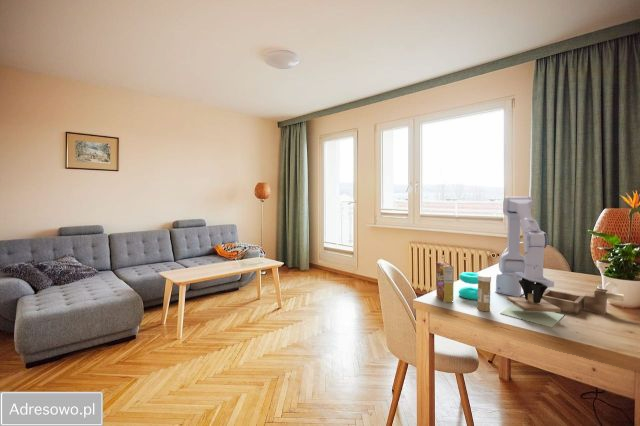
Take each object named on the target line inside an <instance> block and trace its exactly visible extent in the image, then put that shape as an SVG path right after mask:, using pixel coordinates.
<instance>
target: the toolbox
mask: <svg viewBox="0 0 640 426" xmlns="http://www.w3.org/2000/svg"><path fill="white" fill-rule="evenodd" d="M584 297H585V295H579V294H576V293H575V294H574V293H569V292H568V293H567V292H563V291H559V290H552V289H546V291H545V292H544V294H543V296H542V298H541V299H543V300H545V301H547V302H549V303H551V304H553V305H555V306H557V307H558V308H560V309H561V312H560V313H566V314H570V315H574V316H578V315H579V314H580V313H581V312H582V311H583V310H584Z"/></svg>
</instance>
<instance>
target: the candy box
mask: <svg viewBox="0 0 640 426" xmlns="http://www.w3.org/2000/svg"><path fill="white" fill-rule="evenodd" d="M454 273H455V272H454V266H453V265H451V264H449V263H447V262H446V261H436V296H437V298H439V299H440V300H441V299H442V300H443V301H444V302H452V301H453V302H454V278H455V277H454V275H455V274H454ZM442 300H441V301H442ZM443 301H442V302H443ZM444 302H443V303H444ZM453 302H452V303H453Z"/></svg>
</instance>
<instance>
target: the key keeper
mask: <svg viewBox="0 0 640 426" xmlns="http://www.w3.org/2000/svg"><path fill="white" fill-rule="evenodd" d="M594 290H595V296H594V294H591V293H586V294H584V296H585V297H584V308H583V311H586V312H587V311H588V312H591V313H592V312H593V313H596V314H601V315H606V313H607V309H608V308H607V304H608V298H606V292H608V289H603V288H598V287H597V288H596V289H594ZM605 291H606V292H605Z"/></svg>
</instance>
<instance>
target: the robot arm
mask: <svg viewBox="0 0 640 426" xmlns="http://www.w3.org/2000/svg"><path fill="white" fill-rule="evenodd" d="M502 201H503V203H502V212H503V215H506V217H507V233H506V234H507V238H506V240H507V241H506V243H507V244H506V246H507V247H506V252H504V253H502V254H501V255H500V256H499V261H498V269H499V272H497V274H496V279H495V291H494V293H498V294H503V295H507V296H510V297H522V296H523V295H524V296H523V297H525V299H526V300H528V293H533V301H534V303H540V301H541V298H542V296H543V294H544V292H545V291H546V290H548V288H555V281H553V280H550V279H548V278H546V277H545V276H544V261H545V260H544V259H545V249H546V248H547V247H548V241H549V240H548V235H547V232H544V231H543V230H541V228H540V226H539V224H538V221H537V220H536V219H535V218H534V217H533V216H532V214H531V211H532V209H533V205H534V204H533V203H534V201H533V198H532V197H531V195H527V196H508V195H507V196H505V197H504V198H503V200H502ZM521 233H522V235H523V237H522V245H523V251H524V255H523V254H522V253H521V252H520V249H521V248H520V245H521V244H520V242H521V240H520V239H521Z"/></svg>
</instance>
